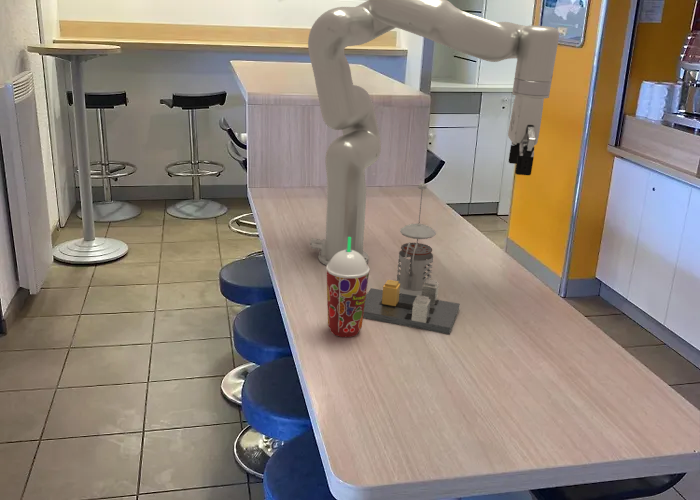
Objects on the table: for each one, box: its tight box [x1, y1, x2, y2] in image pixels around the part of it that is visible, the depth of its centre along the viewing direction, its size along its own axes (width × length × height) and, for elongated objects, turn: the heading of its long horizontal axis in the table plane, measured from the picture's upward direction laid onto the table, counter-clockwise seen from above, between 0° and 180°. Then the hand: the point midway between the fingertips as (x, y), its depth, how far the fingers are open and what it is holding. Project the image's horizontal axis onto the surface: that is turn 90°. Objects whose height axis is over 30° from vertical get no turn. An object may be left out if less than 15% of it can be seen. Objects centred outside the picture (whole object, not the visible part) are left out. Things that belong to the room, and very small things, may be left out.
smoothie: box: [325, 237, 370, 338], centre depth 132 cm, size 8×8×20 cm
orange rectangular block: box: [382, 279, 400, 306], centre depth 144 cm, size 3×3×5 cm
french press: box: [395, 182, 437, 296], centre depth 152 cm, size 10×12×25 cm
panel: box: [363, 278, 461, 335], centre depth 143 cm, size 20×12×6 cm, turn 73°
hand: (519, 168), depth 146 cm, fingers open, 9 cm apart
